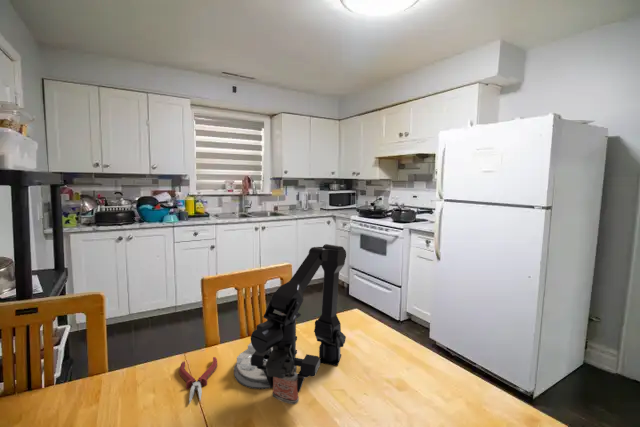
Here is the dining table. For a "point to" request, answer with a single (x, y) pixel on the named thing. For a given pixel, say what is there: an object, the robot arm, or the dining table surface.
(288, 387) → the lighter
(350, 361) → the dining table surface
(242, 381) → the base plate
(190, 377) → the pliers
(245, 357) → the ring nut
